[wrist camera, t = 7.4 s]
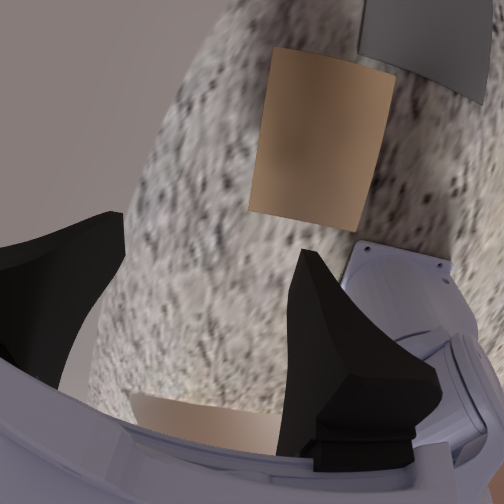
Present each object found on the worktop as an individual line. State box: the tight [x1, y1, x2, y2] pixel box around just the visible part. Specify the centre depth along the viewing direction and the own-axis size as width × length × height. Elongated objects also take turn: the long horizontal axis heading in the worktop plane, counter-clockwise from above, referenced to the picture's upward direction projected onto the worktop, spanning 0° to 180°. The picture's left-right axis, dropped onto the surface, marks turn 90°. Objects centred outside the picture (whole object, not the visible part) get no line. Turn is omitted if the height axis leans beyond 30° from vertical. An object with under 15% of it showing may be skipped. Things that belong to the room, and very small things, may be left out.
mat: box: [358, 0, 493, 105], centre depth 12 cm, size 10×10×1 cm
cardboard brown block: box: [248, 46, 396, 232], centre depth 14 cm, size 6×8×4 cm
